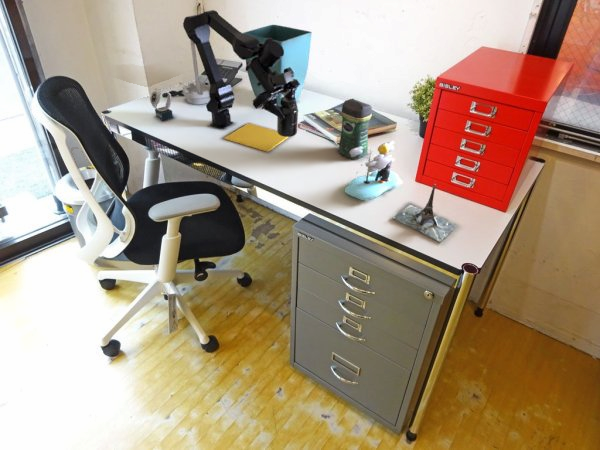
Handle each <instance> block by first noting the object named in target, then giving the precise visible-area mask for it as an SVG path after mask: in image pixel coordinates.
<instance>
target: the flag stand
mask: <svg viewBox="0 0 600 450" xmlns="http://www.w3.org/2000/svg"><path fill="white" fill-rule="evenodd" d="M189 40H190V39H189ZM190 48H191V56H192V65H193V71H194V80H195V82H188V83H187V85H188V86H187V85H185V84H184V85H183V86H182V88H181V89H182V95H183V96H184V97H185V100H186V102H187V103H189V104H191V105H206V104H208V102H209V101H210V96H209V91H210V83H209V82H208V83H207V84H206V81H200V76H199V68H198V60H197V53H196V52H197V51H196V45H195V43H194V42H193V41H191V40H190Z"/></svg>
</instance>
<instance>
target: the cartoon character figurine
mask: <svg viewBox="0 0 600 450" xmlns="http://www.w3.org/2000/svg"><path fill="white" fill-rule="evenodd" d="M394 145H395V142H394V140H391V141H387V142H384V143H382V144H380V145H379V146H377V152H378V153H379V154H378V155H377V154H375V155H374V157H373V159H371V156H366V160H367V162H365V167H366V168H367V169H366V172H365V174H364V176H356V177H355V178H354V179H352V180H351V181H349V183H348V185H347V186H346V187H345V188H344V192H345V194H346V195H349V196H351V197H353V198H356V199H358V200H361V201H368V200H372V199H373V200H374V199H375V198H377V197H379V196H381V195H383V193H385V192H387V191H389V190H391V189H395V188H397V187H399V186H400V185H402V184H403V180H402V179H401V178H400V177H399V175H398V174H397V173H396V172H394V171H392V170H391V169H392V168H393V166H392V163H394V161H395V160H396V159H395V158H393V155H392V154H389V153H390V152H393V150H394V149H395V146H394ZM361 149H362V147H361V146H360V147H357V148H354V149H352V150H351V151H350V152H349V154H351V157H354V156H356V155H359V154H361V153H362V152H363V151H362V150H361ZM369 153H370V154H372V153H373V151H372V150H369ZM360 167H363V163H362V164H360ZM355 174H359V172H358V171H356V172H355Z"/></svg>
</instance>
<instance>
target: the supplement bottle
mask: <svg viewBox="0 0 600 450" xmlns="http://www.w3.org/2000/svg"><path fill="white" fill-rule="evenodd" d="M279 107H280V109H281V111H282V112H283V114H284V116H285V119H284V120H282V119H281V118H279V117H277V116H276V117H277V118H276V119H277V120H276V121H277V122H276V127H277V128H276V131H277V132H278V134H279V135H281V136H284V137H288V138H291V137H294V136H296V135H297V133H298V120H299V108H298V106H297V107H296V106H295V98H293V97H288V96H287V97H282V98H281V102H280V106H279ZM297 108H298V109H297Z"/></svg>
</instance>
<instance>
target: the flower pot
mask: <svg viewBox="0 0 600 450" xmlns="http://www.w3.org/2000/svg"><path fill="white" fill-rule="evenodd" d="M243 33H244V34H248V35H250V36H252V37H254V38H256V39H257V40H258V41H259V42H260V43H262V44H264V42H265V41H266V40H267V39H269V38H272V40H273V41H275V42H277V43H279V44H280V45H281V46H282V47H283V50H284V55H283V56H282V57H281V58H280V60H279V61H278V62H277V63H276V64H275V65H274V66H273V67H270V68H271V69H272V71H273V72H274V71H277V72H278V74H281V73H284V69H286V68H289V67H290V68H291V69H292V70H293V72H294V77H292V78H293V79H296V80H298V82H299V84H300V85H299V86H298V87H297V90H296V91H295V99H296V103H297V102H298V100H299V98H300V96H301V93H302V91H303V88H304V85H305V82H306V78H307V74H308V68H309V60H310V52H311V51H310V50H311V44H312V43H311V42H312V35H313V34H312V31H309V30H304V29H299V28H295V27H291V26H290V27H289V26H284V25H280V24H279V25H278V24H269V25H266V26H262V27H258V28H254V29H251V30H248V31H244V32H243ZM255 57H258V56H255ZM255 57H252V58H249V59H246V60H245V63H246V62H248V61H251V60H252V59H253V58H255ZM246 72H247V74H248V79H249V83H250V86H251V89H252V92H253V94H254V96H255V98H256V97H257V96H258V95H259V94H260V93H263V92H265V91H264V89H263V88H262V86H258V85H257V84H258V83H259V81H258V80H257V78H256V77H255V75H254V74H253V72H252V70H249V71H246ZM283 86H284V85H283ZM283 86H282V87H283ZM273 95H274V94H273ZM276 97H277V104H278V106H280V102H281V98H282V97H284V95H282V94H281V95H278V96H276ZM274 98H275V97H274Z"/></svg>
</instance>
